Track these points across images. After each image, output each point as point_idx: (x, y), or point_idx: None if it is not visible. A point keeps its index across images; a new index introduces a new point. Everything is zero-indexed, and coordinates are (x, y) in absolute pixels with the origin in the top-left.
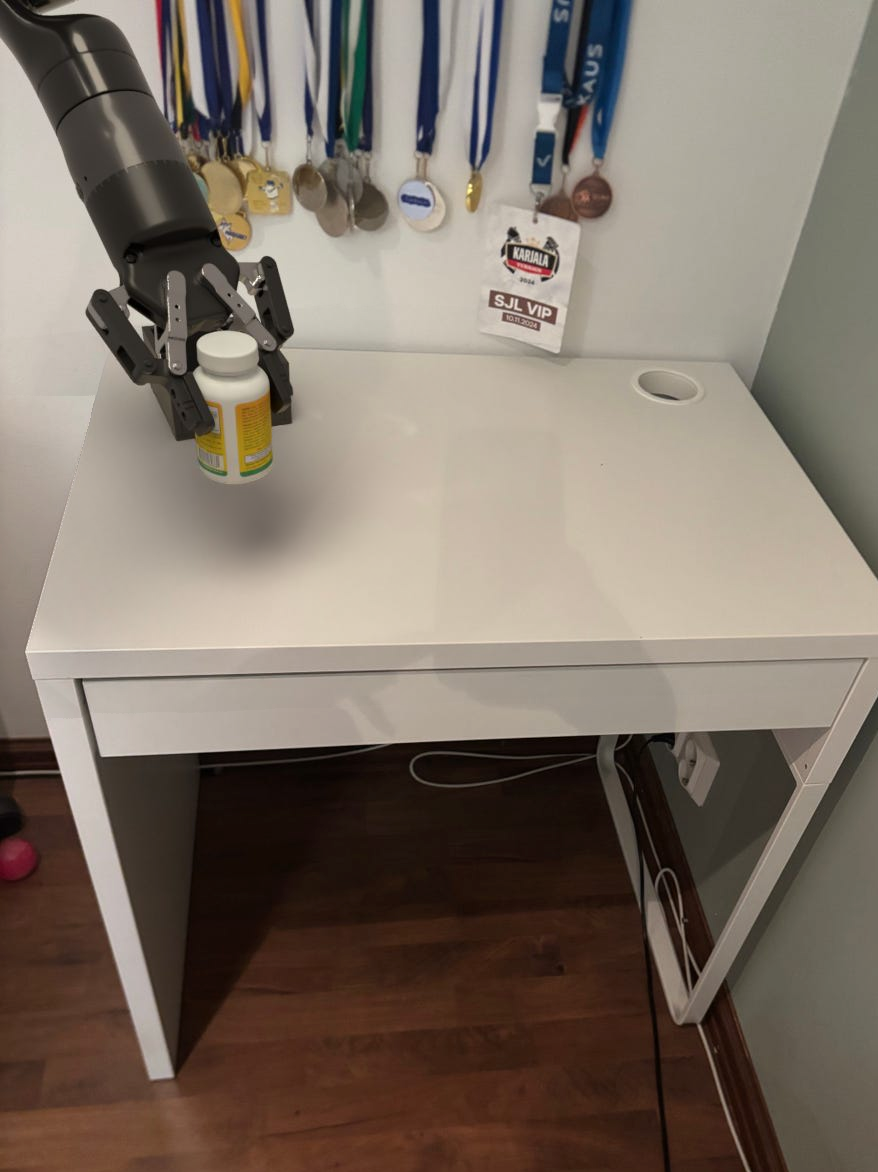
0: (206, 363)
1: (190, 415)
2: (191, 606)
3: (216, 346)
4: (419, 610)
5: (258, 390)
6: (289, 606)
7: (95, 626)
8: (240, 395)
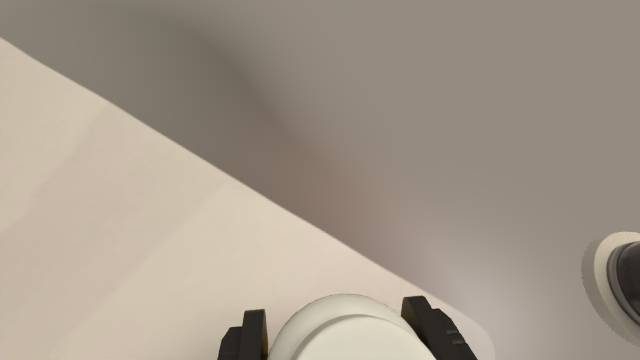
0: None
1: (448, 321)
2: None
3: None
4: (216, 209)
5: (319, 301)
6: (303, 273)
7: None
8: (362, 297)
